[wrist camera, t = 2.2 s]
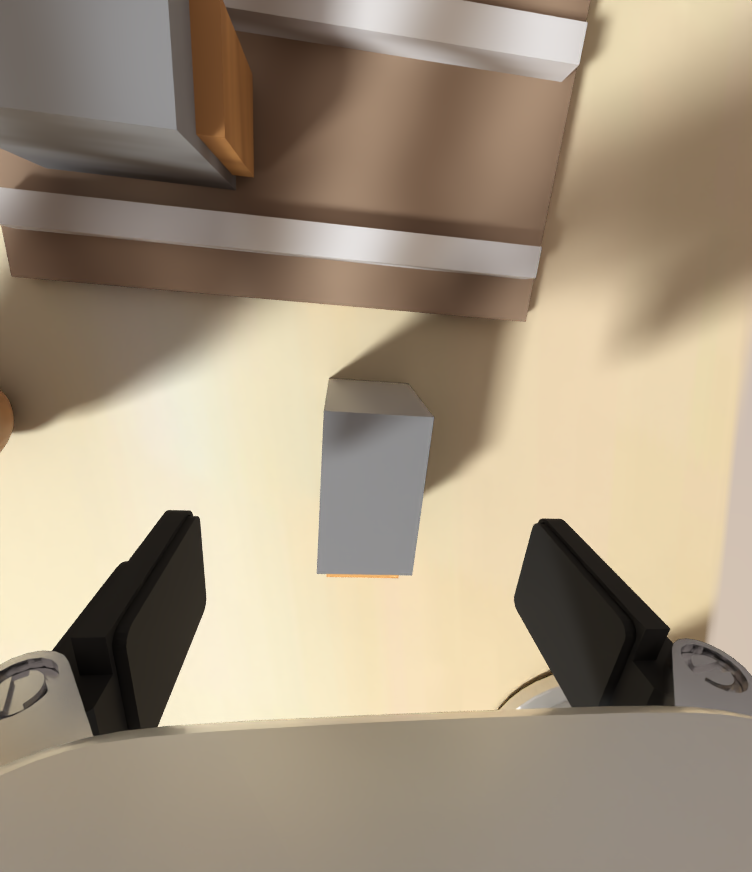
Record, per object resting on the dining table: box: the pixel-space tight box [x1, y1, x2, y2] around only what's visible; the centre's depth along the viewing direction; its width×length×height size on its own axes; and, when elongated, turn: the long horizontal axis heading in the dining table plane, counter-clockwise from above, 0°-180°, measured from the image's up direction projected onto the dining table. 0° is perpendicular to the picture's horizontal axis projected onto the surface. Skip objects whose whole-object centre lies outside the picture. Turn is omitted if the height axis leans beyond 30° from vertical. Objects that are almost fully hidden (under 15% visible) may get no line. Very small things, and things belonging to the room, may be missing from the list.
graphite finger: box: [317, 378, 434, 578], centre depth 18 cm, size 4×8×6 cm, turn 175°
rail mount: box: [0, 0, 590, 322], centre depth 13 cm, size 22×12×7 cm, turn 85°
